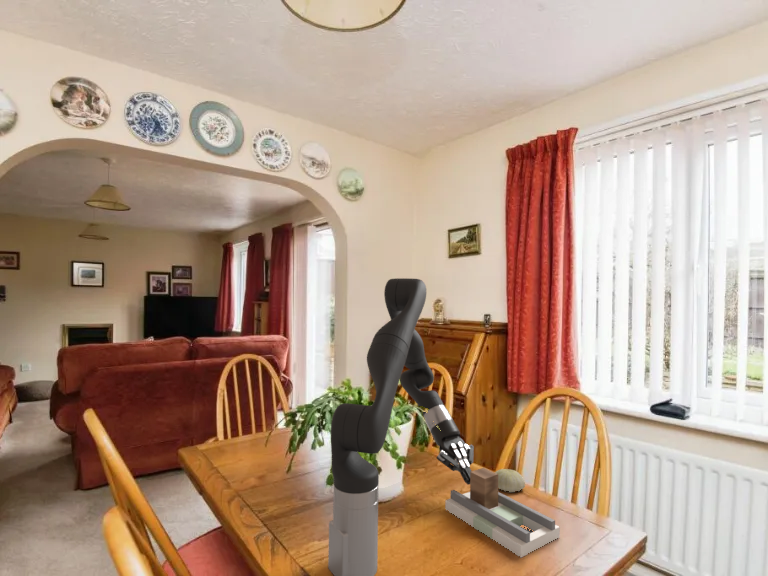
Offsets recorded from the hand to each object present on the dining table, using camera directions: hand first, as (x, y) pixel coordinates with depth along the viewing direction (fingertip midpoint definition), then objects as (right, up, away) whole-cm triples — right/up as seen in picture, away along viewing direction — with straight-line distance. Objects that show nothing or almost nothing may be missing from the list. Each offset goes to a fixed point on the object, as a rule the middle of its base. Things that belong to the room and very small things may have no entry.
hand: (471, 482), depth 111 cm
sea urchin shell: (+13, -7, +12) cm, 19 cm away
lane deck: (+5, -6, -8) cm, 11 cm away
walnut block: (+2, -4, -4) cm, 6 cm away
